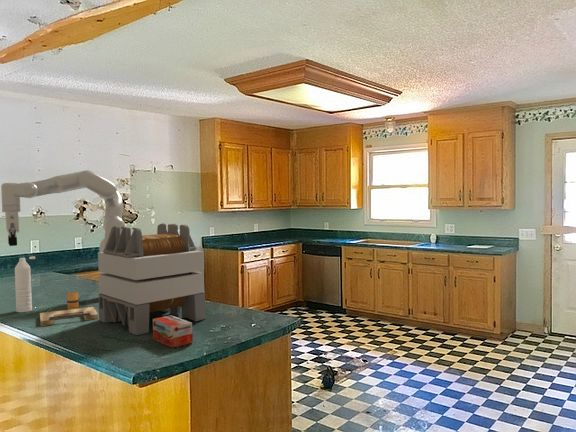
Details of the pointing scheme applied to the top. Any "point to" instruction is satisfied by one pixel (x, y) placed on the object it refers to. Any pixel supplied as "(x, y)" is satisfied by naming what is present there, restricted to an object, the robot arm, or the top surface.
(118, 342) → the top surface
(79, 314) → the oak frame
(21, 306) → the water bottle
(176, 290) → the transformer
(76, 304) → the banded orange cylinder
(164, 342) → the medicine box
